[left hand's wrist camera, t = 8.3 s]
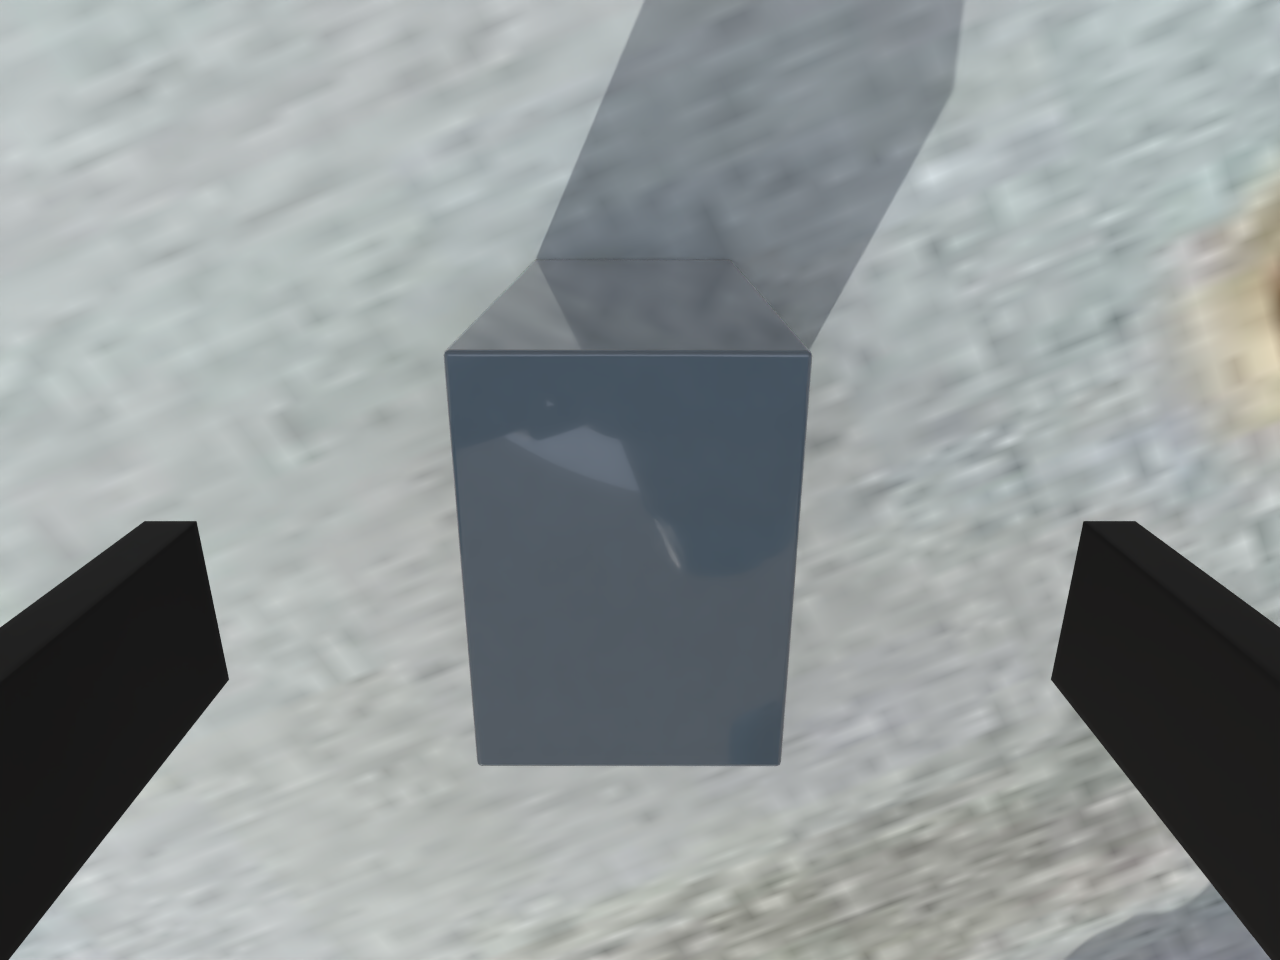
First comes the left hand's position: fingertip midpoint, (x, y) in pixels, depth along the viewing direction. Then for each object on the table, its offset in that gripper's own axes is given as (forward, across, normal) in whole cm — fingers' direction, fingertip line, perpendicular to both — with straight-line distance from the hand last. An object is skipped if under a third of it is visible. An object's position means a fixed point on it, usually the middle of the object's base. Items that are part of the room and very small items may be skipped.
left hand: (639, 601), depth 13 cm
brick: (+12, 0, 0) cm, 12 cm away
